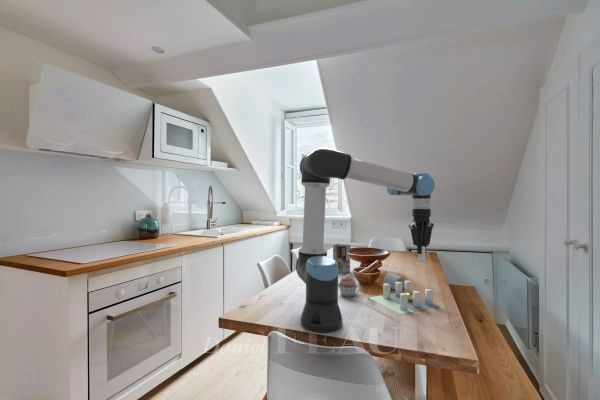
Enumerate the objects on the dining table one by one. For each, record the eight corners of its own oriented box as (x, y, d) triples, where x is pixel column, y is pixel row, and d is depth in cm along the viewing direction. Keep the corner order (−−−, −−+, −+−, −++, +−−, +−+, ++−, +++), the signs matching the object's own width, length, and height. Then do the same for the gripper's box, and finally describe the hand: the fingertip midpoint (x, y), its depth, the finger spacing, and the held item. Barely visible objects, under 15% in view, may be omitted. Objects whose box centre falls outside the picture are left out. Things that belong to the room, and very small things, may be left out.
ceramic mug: (397, 293, 143) (397, 277, 143) (383, 288, 150) (383, 273, 149) (410, 289, 149) (410, 274, 149) (396, 285, 156) (396, 271, 156)
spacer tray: (400, 316, 116) (400, 298, 115) (368, 299, 134) (368, 284, 134) (440, 308, 125) (441, 291, 125) (405, 293, 143) (405, 279, 143)
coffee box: (350, 271, 183) (350, 245, 183) (346, 273, 178) (346, 246, 178) (336, 269, 188) (337, 243, 188) (332, 271, 183) (332, 245, 182)
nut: (410, 303, 128) (410, 295, 128) (401, 299, 132) (401, 292, 132) (418, 301, 130) (419, 294, 130) (410, 297, 134) (410, 290, 134)
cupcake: (342, 290, 146) (342, 270, 146) (360, 294, 141) (360, 273, 141) (334, 296, 138) (334, 274, 138) (353, 300, 133) (353, 277, 133)
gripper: (417, 209, 126) (417, 264, 127) (439, 208, 132) (439, 261, 132) (404, 208, 133) (404, 260, 134) (425, 207, 138) (425, 257, 139)
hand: (421, 260), depth 133 cm, fingers closed
